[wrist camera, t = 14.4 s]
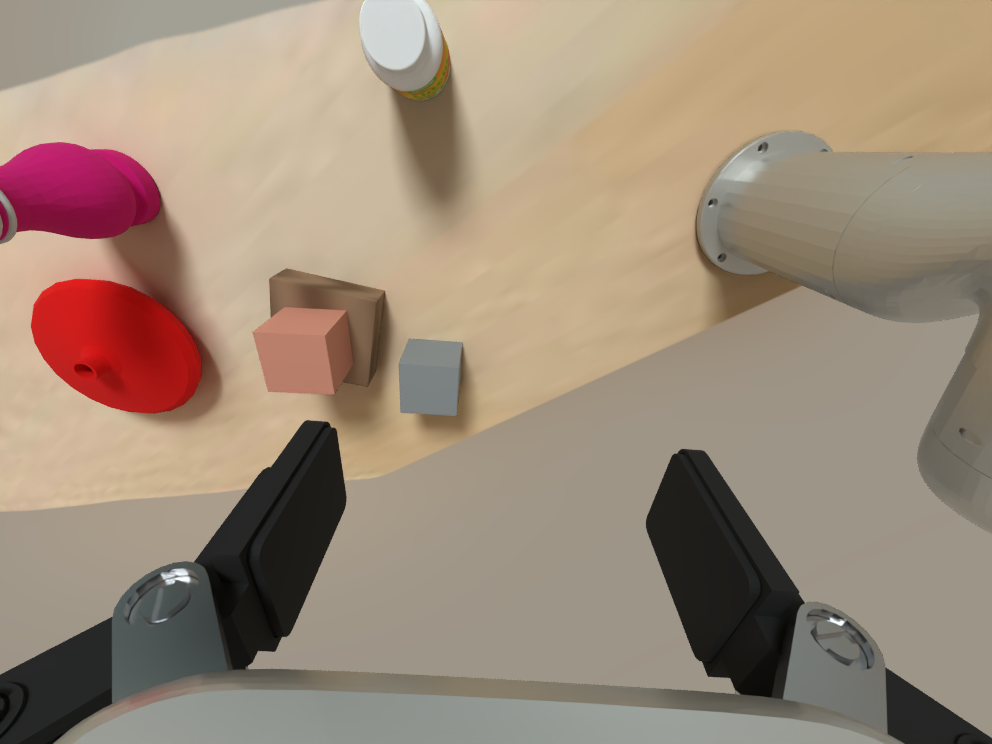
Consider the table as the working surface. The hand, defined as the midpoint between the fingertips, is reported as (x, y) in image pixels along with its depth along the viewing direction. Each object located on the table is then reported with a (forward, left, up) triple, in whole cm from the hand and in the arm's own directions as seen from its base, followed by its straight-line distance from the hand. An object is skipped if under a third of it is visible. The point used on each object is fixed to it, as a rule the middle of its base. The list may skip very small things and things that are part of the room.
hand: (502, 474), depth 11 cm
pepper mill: (+34, -2, -32) cm, 47 cm away
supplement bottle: (+7, -14, -33) cm, 36 cm away
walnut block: (+17, +10, -33) cm, 38 cm away
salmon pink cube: (+17, +10, -29) cm, 35 cm away
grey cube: (+5, +14, -32) cm, 36 cm away
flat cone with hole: (+38, +14, -33) cm, 52 cm away
